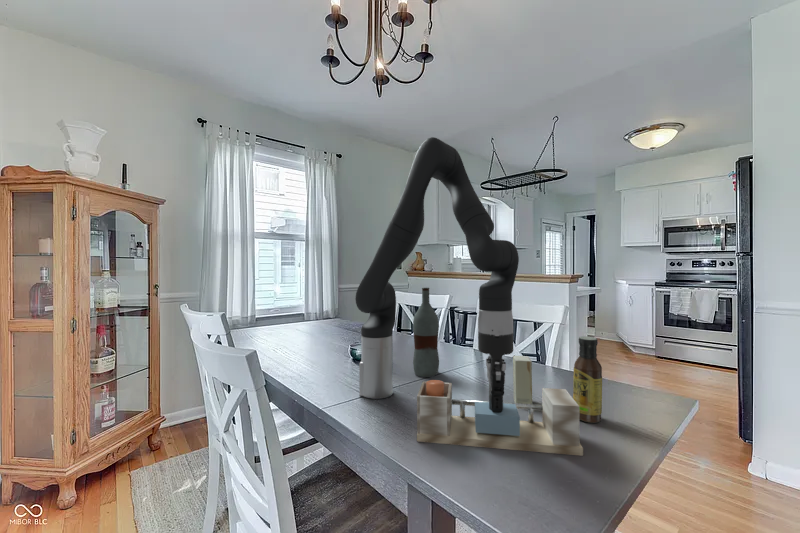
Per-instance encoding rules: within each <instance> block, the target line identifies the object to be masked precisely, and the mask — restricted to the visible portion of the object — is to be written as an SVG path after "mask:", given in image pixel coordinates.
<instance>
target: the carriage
mask: <svg viewBox="0 0 800 533" xmlns="http://www.w3.org/2000/svg"><path fill="white" fill-rule="evenodd" d="M494 389H500V387H494ZM490 391H491V384H490V383H489V382H488V401H489V402H475V406H474V417H475V429H476V433H488V434H501V435H514V436H520V421H521V416H520V413H519V411H518V409H517V408H516V405H515V404H507V403H508V402H505V403H503V402H504V395H502V412H501V413H497V412H492V410H491V393H490Z"/></svg>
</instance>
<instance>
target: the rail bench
mask: <svg viewBox="0 0 800 533" xmlns="http://www.w3.org/2000/svg"><path fill="white" fill-rule="evenodd" d="M426 382H427V381H422V383H421V385H420V387H419V390H418V392H417V395H416V430H417V431H416V442H419V443H430V444H431V443H432V444H442V445H455V446H467V447H476V448H477V447H478V448H489V449H490V448H491V449H501V450H511V451H522V452H533V453H534V452H536V453H546V454H547V453H548V454H558V455H559V454H560V455H571V456H580V457H582V456H583V457H584V447H583V446H582V444H581V443H580V419H579V405H578V404H577V403H576V402H575V400H574V399H573V396H572V395H571V394H570V393H569V392H568V390H567V389H566V388H551V387H550V388H548V387H547V388H546V387H542V389H541V393H542V395H541V397H542V402H541V403H542V404H541V405H542V407H543V410H541V413H542V415H541V416H542V417H541V418H542V421H534V423H529V422H528V420H520V436H514V435H501V434H488V433H476V429H475V416H465V418H460V415H452V414H453V412H452V411H453V405H452V399H453V397H452V396H453V394H452V393H453V392H452V391H453V387H452V386H453V384H452V382H444V397H438V396H427V395H426Z"/></svg>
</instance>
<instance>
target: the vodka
mask: <svg viewBox="0 0 800 533" xmlns="http://www.w3.org/2000/svg"><path fill="white" fill-rule="evenodd" d="M413 316H414V317H413V322H412V331H413V345H414V351H413V357H412V358H413V359H412V364H413V367H412V368H413V371H414V374H415V376H418V377H421V378H432V376H433V377H436V376H437V375H438V374H439V368H440V366H439V365H440V358H439V356H440V355H439V351H438V350H439V349H438V344H439V343H438V341H439V331H440V330H439V329H440V323H439V318H438V314H437V313H436V312H435V310H434V307H433V306H432V305H431V302H430V287H422V288H421V304H420V305H419V307H418V309H417V310H416V313H415V314H414V315H413ZM435 375H436V376H435Z"/></svg>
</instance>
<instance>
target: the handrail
mask: <svg viewBox="0 0 800 533" xmlns="http://www.w3.org/2000/svg"><path fill="white" fill-rule="evenodd" d="M475 402H489V400H487V401H486V400H474V399H473V400H471V399H469V400H468V399H457V398H456V399H453V398H452V406H459V416H460V418H465V417H466V406H470V407H475ZM503 403H507V404H515V405H516V408H517V410H527V421H528V422H529V423H534V422H535V421H534V420H535V418H534V414H535V413H534V412H535V411H542V410H543V407H542V404H533V403H532V404H520V403H515V402H505V401H503Z"/></svg>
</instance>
